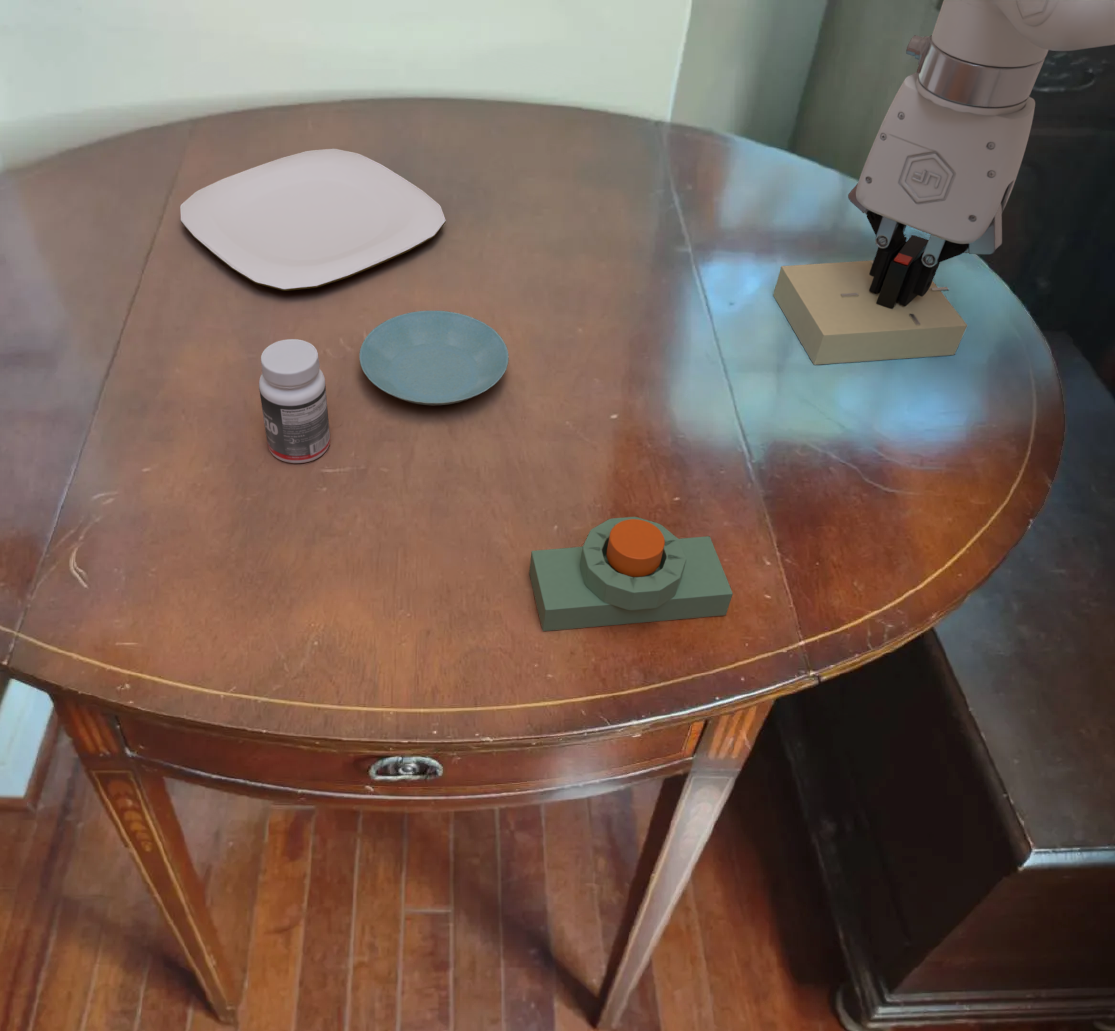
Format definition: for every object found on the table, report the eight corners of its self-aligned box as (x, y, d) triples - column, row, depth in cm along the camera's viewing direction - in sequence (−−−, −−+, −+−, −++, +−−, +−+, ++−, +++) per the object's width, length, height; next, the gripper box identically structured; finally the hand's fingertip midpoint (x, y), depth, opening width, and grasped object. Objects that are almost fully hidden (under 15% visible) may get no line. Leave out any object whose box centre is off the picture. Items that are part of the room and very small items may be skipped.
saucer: (533, 363, 86) (535, 341, 84) (455, 444, 79) (455, 421, 77) (415, 316, 90) (414, 294, 89) (331, 388, 84) (329, 366, 82)
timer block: (701, 550, 71) (712, 509, 69) (729, 623, 67) (742, 582, 64) (527, 565, 71) (531, 524, 68) (544, 639, 66) (549, 599, 63)
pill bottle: (263, 429, 80) (250, 340, 74) (324, 418, 81) (316, 330, 75) (272, 470, 77) (259, 381, 71) (336, 459, 78) (328, 370, 72)
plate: (157, 217, 102) (153, 201, 101) (339, 150, 111) (338, 135, 110) (279, 320, 90) (277, 303, 89) (472, 235, 99) (472, 219, 98)
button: (652, 535, 68) (657, 516, 66) (666, 575, 65) (671, 556, 64) (601, 539, 67) (604, 520, 66) (613, 579, 65) (616, 561, 64)
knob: (896, 276, 89) (913, 231, 86) (912, 281, 89) (930, 237, 85) (875, 303, 86) (892, 258, 83) (892, 309, 86) (909, 264, 83)
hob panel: (910, 286, 93) (922, 255, 91) (961, 354, 86) (975, 323, 84) (772, 295, 92) (781, 264, 90) (813, 365, 86) (824, 333, 83)
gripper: (849, 56, 76) (787, 274, 89) (1071, 125, 69) (967, 352, 82) (897, 26, 80) (830, 239, 93) (1113, 88, 72) (1007, 311, 86)
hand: (895, 290), depth 87 cm, fingers closed, pressing on knob
